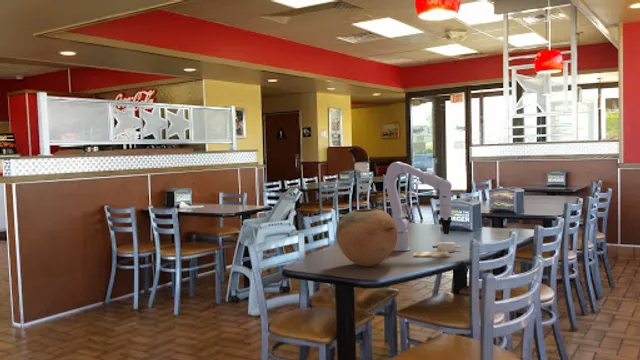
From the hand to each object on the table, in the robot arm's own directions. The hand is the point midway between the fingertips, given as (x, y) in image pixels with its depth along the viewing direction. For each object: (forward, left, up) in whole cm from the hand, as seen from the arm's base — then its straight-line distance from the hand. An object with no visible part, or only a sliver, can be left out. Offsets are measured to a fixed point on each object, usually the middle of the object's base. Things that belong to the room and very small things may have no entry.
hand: (446, 232), depth 273 cm
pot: (-34, -36, -9) cm, 50 cm away
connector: (0, 0, -9) cm, 9 cm away
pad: (-7, -11, -9) cm, 16 cm away
